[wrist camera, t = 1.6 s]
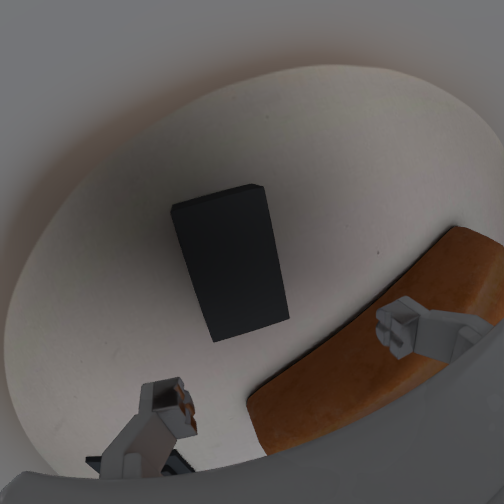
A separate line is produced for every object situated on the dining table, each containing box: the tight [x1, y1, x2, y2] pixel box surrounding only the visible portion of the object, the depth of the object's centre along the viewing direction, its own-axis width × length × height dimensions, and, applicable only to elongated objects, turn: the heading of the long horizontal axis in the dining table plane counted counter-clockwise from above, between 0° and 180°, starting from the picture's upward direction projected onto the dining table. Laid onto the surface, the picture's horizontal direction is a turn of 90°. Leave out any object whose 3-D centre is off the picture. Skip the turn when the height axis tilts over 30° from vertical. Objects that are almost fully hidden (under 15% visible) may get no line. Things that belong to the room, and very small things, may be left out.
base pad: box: [85, 450, 195, 476], centre depth 28 cm, size 18×14×2 cm
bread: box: [246, 226, 504, 456], centre depth 21 cm, size 14×33×16 cm, turn 125°
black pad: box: [170, 184, 290, 342], centre depth 20 cm, size 10×6×3 cm, turn 13°
